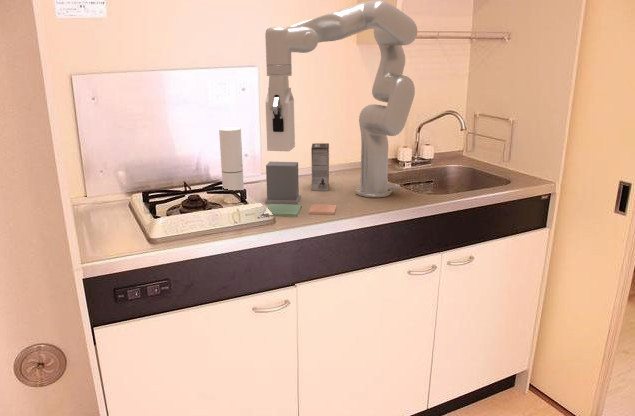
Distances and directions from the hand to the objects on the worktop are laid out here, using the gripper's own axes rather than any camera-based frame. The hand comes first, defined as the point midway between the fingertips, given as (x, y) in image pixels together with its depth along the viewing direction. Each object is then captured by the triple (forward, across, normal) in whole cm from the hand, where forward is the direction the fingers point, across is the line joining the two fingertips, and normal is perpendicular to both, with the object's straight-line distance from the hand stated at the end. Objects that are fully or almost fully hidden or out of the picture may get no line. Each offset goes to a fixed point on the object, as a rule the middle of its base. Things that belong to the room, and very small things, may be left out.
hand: (280, 129), depth 166 cm
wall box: (+27, -12, -2) cm, 29 cm away
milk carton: (+7, 0, 0) cm, 7 cm away
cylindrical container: (+27, -10, -19) cm, 35 cm away
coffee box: (+27, -30, +9) cm, 41 cm away
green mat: (+27, 0, 0) cm, 27 cm away
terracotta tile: (+27, -2, +13) cm, 30 cm away
